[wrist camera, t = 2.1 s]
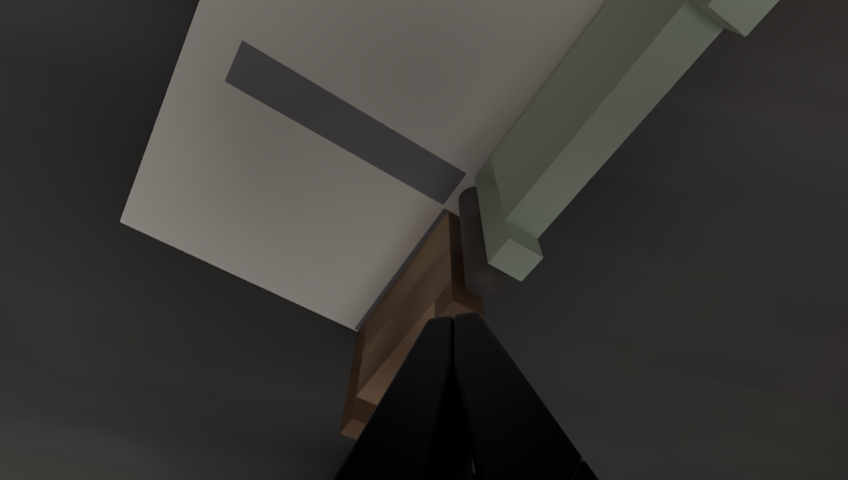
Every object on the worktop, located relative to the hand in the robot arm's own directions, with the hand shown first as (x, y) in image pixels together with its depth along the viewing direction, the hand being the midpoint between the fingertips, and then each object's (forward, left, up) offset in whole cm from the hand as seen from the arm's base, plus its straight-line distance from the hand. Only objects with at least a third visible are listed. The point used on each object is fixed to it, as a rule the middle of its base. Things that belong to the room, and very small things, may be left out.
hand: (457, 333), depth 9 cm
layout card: (-2, +2, -12) cm, 12 cm away
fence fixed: (-6, -3, -12) cm, 14 cm away
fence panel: (+3, -3, -11) cm, 12 cm away
